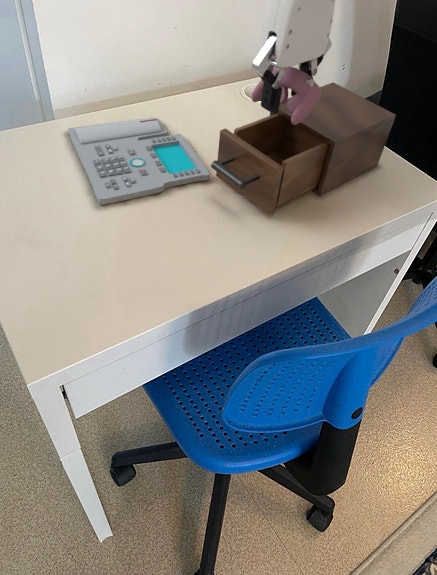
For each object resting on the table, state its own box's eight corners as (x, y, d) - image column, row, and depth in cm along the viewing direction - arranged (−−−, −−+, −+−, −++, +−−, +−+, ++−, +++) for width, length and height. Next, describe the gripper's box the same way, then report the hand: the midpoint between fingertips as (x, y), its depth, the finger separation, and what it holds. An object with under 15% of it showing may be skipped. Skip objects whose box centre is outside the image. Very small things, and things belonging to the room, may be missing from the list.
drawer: (249, 225, 78) (257, 179, 72) (196, 184, 85) (199, 137, 78) (330, 184, 88) (344, 139, 81) (277, 149, 94) (286, 105, 88)
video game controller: (308, 130, 76) (331, 85, 73) (293, 125, 72) (316, 78, 69) (262, 104, 80) (282, 60, 77) (246, 98, 77) (266, 53, 74)
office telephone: (65, 121, 92) (166, 107, 99) (67, 134, 94) (167, 119, 100) (98, 192, 78) (214, 170, 85) (99, 206, 80) (213, 183, 86)
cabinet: (320, 196, 87) (335, 142, 79) (262, 157, 94) (271, 104, 86) (377, 166, 95) (396, 114, 87) (320, 132, 102) (333, 82, 94)
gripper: (330, -46, 69) (304, 81, 82) (239, -31, 61) (226, 108, 74) (373, -30, 65) (338, 100, 78) (283, -12, 57) (261, 131, 70)
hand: (284, 103), depth 76 cm, fingers closed on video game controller, 5 cm apart
